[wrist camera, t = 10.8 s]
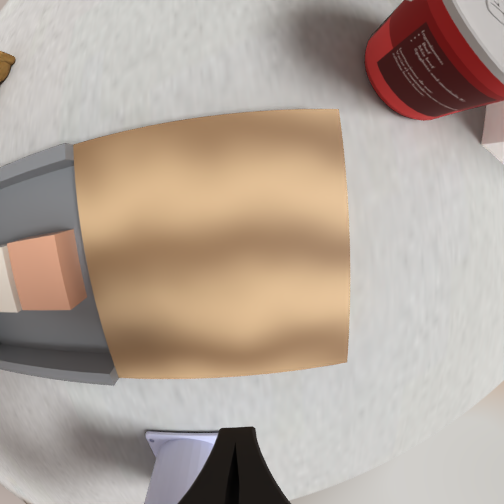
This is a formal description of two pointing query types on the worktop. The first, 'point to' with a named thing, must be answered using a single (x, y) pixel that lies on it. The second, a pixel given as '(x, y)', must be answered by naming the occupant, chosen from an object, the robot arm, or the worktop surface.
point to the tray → (85, 313)
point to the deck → (219, 243)
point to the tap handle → (5, 64)
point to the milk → (494, 130)
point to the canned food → (438, 57)
